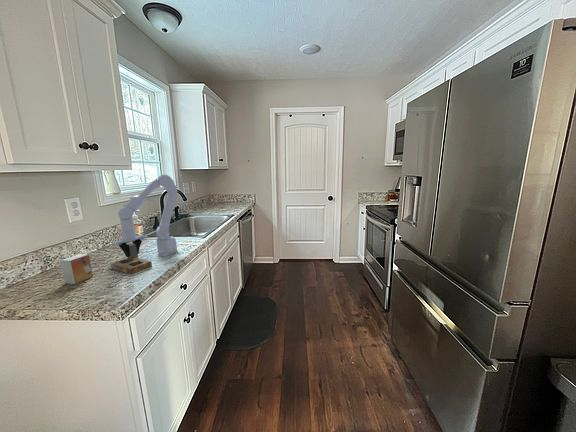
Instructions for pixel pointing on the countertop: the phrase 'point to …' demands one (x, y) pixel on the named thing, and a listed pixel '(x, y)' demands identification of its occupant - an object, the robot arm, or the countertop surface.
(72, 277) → the small box
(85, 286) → the countertop surface
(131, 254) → the plug
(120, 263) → the divided box
